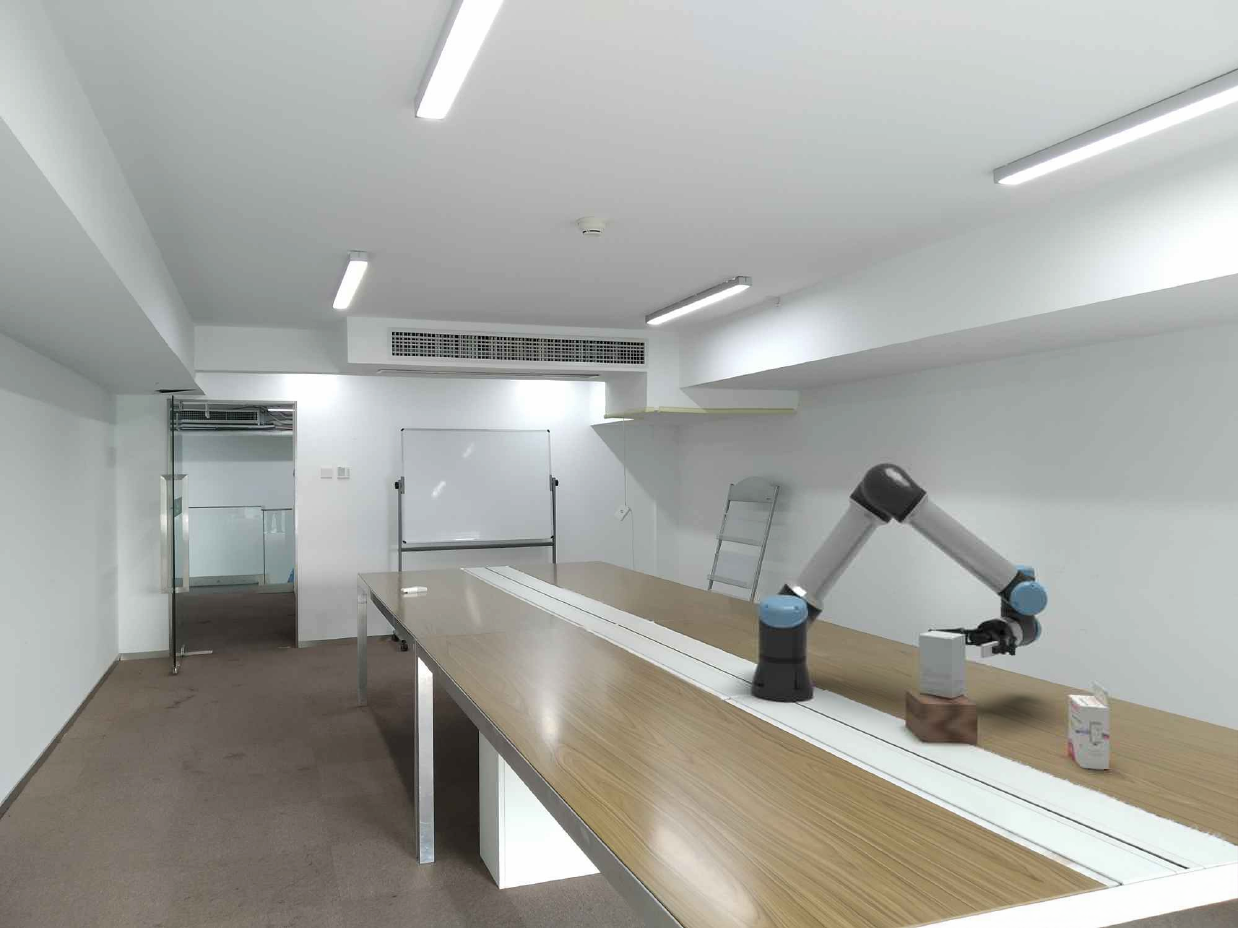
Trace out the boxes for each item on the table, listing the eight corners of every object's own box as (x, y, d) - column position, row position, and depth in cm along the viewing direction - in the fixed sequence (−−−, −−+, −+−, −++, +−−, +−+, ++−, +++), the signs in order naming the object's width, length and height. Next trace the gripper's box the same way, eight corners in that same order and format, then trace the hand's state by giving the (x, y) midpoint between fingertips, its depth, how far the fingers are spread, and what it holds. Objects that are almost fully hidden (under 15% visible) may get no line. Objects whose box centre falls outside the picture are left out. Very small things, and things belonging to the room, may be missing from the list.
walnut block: (922, 743, 171) (922, 703, 171) (905, 726, 182) (905, 689, 182) (977, 744, 171) (977, 704, 171) (956, 727, 182) (957, 690, 182)
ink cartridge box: (1066, 753, 165) (1066, 678, 166) (1094, 755, 164) (1094, 680, 165) (1081, 768, 157) (1081, 689, 157) (1110, 770, 156) (1110, 691, 156)
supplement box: (967, 693, 180) (967, 634, 180) (952, 699, 175) (952, 638, 175) (933, 687, 185) (933, 629, 185) (918, 692, 180) (918, 633, 180)
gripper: (1053, 660, 189) (1009, 674, 175) (948, 642, 208) (901, 653, 194) (1053, 626, 189) (1009, 638, 175) (948, 611, 208) (901, 621, 194)
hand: (952, 646), depth 185 cm, fingers open, 13 cm apart
